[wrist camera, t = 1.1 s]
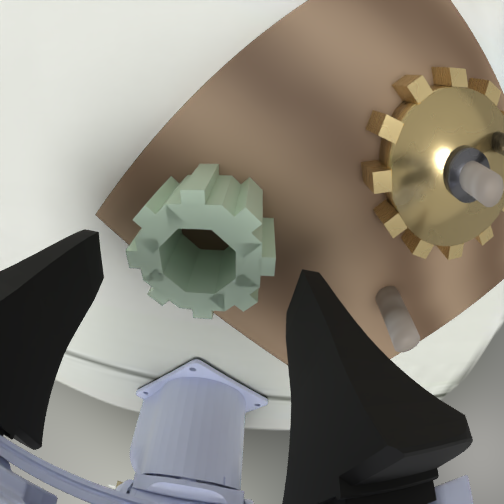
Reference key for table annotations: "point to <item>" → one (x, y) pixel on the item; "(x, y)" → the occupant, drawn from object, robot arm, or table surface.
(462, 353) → the table surface
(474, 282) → the gear board
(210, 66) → the table surface
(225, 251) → the pale green gear
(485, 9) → the table surface
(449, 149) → the brass gear
